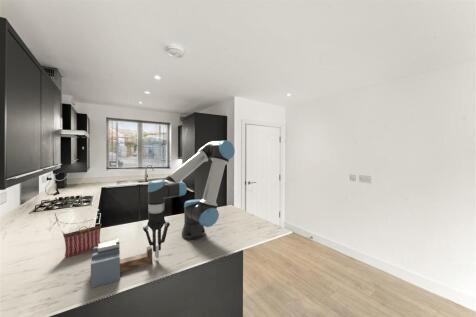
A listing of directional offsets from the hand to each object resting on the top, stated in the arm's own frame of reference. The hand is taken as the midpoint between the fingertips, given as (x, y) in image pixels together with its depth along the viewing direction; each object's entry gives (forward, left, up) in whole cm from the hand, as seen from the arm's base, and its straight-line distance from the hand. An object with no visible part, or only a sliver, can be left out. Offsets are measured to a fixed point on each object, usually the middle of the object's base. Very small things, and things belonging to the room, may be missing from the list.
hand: (156, 256), depth 99 cm
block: (+21, 0, -2) cm, 21 cm away
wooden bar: (+12, 0, -2) cm, 13 cm away
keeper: (+20, 0, +8) cm, 22 cm away
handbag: (+34, -27, -2) cm, 44 cm away
